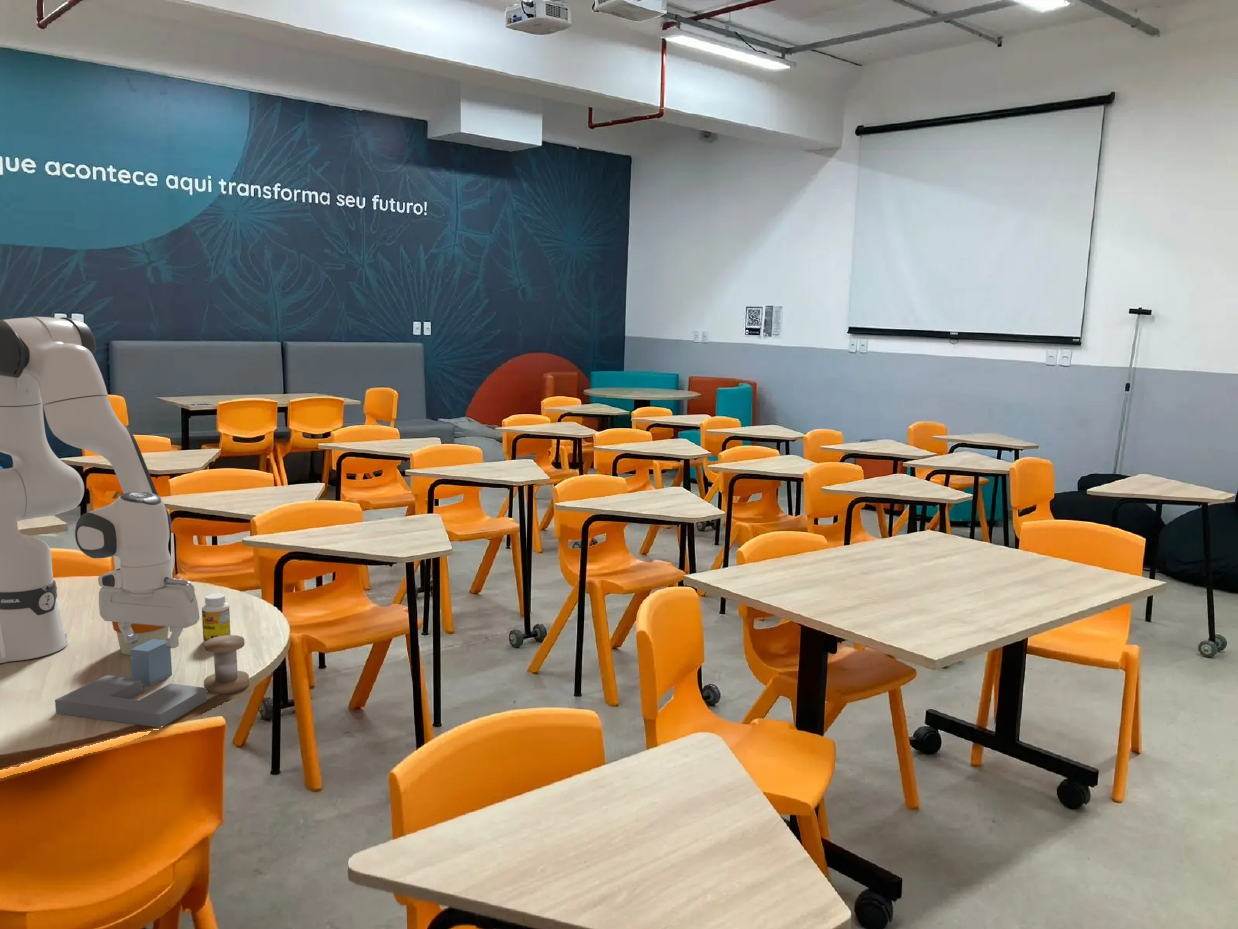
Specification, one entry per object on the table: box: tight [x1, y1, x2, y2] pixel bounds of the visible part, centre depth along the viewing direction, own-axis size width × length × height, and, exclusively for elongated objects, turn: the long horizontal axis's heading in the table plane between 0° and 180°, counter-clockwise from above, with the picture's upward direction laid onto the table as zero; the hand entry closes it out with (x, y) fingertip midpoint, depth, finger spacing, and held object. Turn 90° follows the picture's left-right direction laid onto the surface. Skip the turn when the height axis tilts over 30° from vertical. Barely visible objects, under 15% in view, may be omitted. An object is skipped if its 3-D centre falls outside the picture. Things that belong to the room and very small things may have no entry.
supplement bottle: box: [201, 593, 232, 643], centre depth 201 cm, size 6×6×10 cm
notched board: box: [54, 674, 208, 728], centre depth 167 cm, size 22×12×2 cm, turn 76°
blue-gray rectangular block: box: [130, 639, 173, 687], centre depth 180 cm, size 4×6×7 cm, turn 166°
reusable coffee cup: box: [111, 621, 169, 656], centre depth 196 cm, size 13×13×15 cm
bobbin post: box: [203, 634, 250, 695], centre depth 177 cm, size 8×8×9 cm
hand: (152, 645), depth 179 cm, fingers open, 8 cm apart
